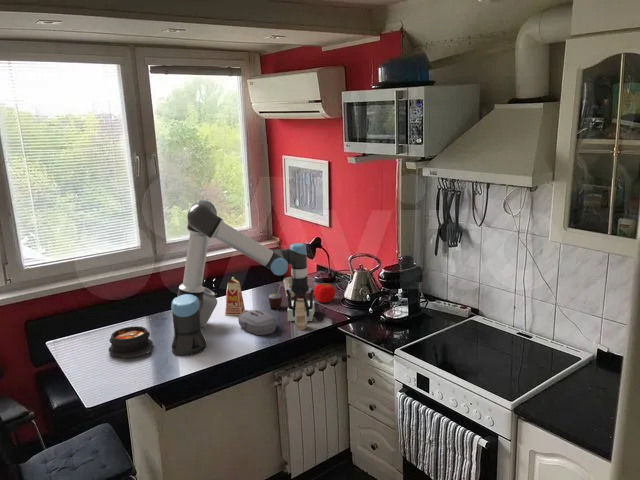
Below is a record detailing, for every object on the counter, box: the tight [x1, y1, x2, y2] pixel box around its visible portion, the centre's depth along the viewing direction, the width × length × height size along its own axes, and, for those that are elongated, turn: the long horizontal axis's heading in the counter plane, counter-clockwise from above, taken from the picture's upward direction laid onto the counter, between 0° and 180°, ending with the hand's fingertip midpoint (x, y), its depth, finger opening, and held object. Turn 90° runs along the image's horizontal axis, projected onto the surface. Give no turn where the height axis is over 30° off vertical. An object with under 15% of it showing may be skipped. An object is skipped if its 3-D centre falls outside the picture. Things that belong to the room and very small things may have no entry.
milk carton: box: [224, 276, 246, 317], centre depth 269 cm, size 9×9×20 cm
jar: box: [200, 279, 218, 328], centre depth 252 cm, size 19×15×25 cm
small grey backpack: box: [237, 309, 278, 336], centre depth 248 cm, size 15×8×20 cm
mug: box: [283, 276, 295, 298], centre depth 292 cm, size 8×13×10 cm, turn 174°
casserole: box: [108, 325, 154, 359], centre depth 228 cm, size 25×19×8 cm
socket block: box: [286, 300, 316, 322], centre depth 262 cm, size 14×12×6 cm
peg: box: [296, 298, 307, 330], centre depth 247 cm, size 4×4×14 cm
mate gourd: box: [268, 281, 284, 310], centre depth 275 cm, size 8×8×15 cm
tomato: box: [313, 282, 336, 303], centre depth 283 cm, size 12×12×10 cm
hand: (301, 322), depth 248 cm, fingers closed on peg, 4 cm apart
